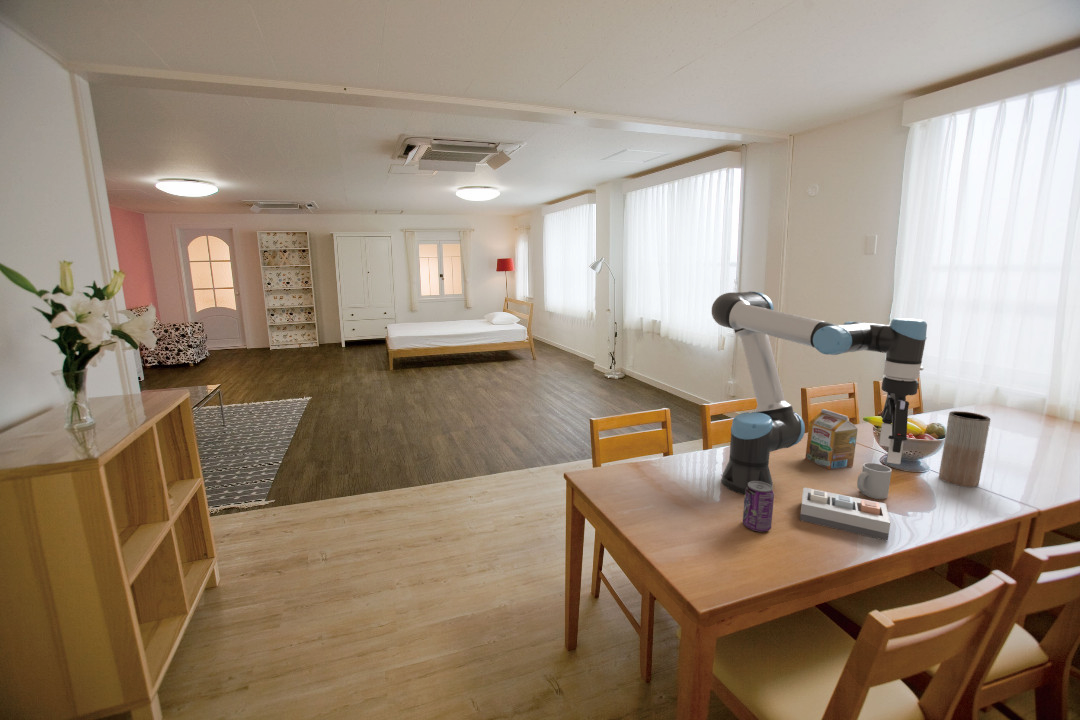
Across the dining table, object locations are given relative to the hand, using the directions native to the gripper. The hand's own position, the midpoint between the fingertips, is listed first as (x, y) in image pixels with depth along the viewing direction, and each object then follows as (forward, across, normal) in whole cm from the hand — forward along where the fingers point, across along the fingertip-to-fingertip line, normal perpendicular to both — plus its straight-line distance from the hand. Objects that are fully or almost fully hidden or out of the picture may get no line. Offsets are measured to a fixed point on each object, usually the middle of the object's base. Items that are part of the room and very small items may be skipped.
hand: (888, 454), depth 127 cm
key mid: (+16, -4, +9) cm, 19 cm away
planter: (+20, +44, -27) cm, 55 cm away
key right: (+16, -5, +3) cm, 17 cm away
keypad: (+20, -4, +9) cm, 22 cm away
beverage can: (+20, -19, +30) cm, 41 cm away
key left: (+16, -4, +15) cm, 23 cm away
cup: (+20, +18, 0) cm, 27 cm away
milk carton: (+20, +42, +10) cm, 47 cm away
